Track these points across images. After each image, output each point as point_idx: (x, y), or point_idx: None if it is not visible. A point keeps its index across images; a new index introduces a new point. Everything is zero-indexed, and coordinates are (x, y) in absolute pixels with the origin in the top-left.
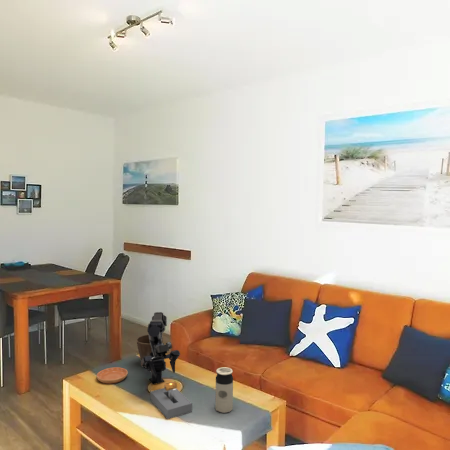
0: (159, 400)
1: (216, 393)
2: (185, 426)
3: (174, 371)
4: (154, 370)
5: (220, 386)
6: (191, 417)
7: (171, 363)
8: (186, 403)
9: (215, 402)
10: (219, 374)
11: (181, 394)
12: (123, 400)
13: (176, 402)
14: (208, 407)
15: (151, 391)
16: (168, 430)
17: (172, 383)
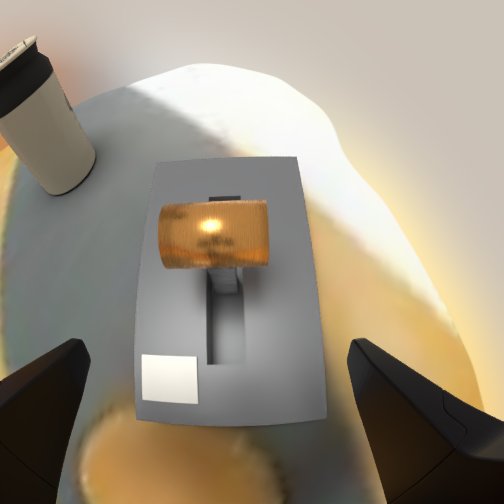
0: (309, 265)
1: (65, 118)
2: (243, 125)
3: (72, 341)
4: (413, 384)
5: (56, 77)
6: (192, 158)
7: (29, 466)
8: (179, 170)
9: (77, 158)
10: (34, 44)
11: (146, 271)
12: None
13: None
14: (96, 195)
15: (321, 414)
16: (307, 131)
17: (200, 205)
